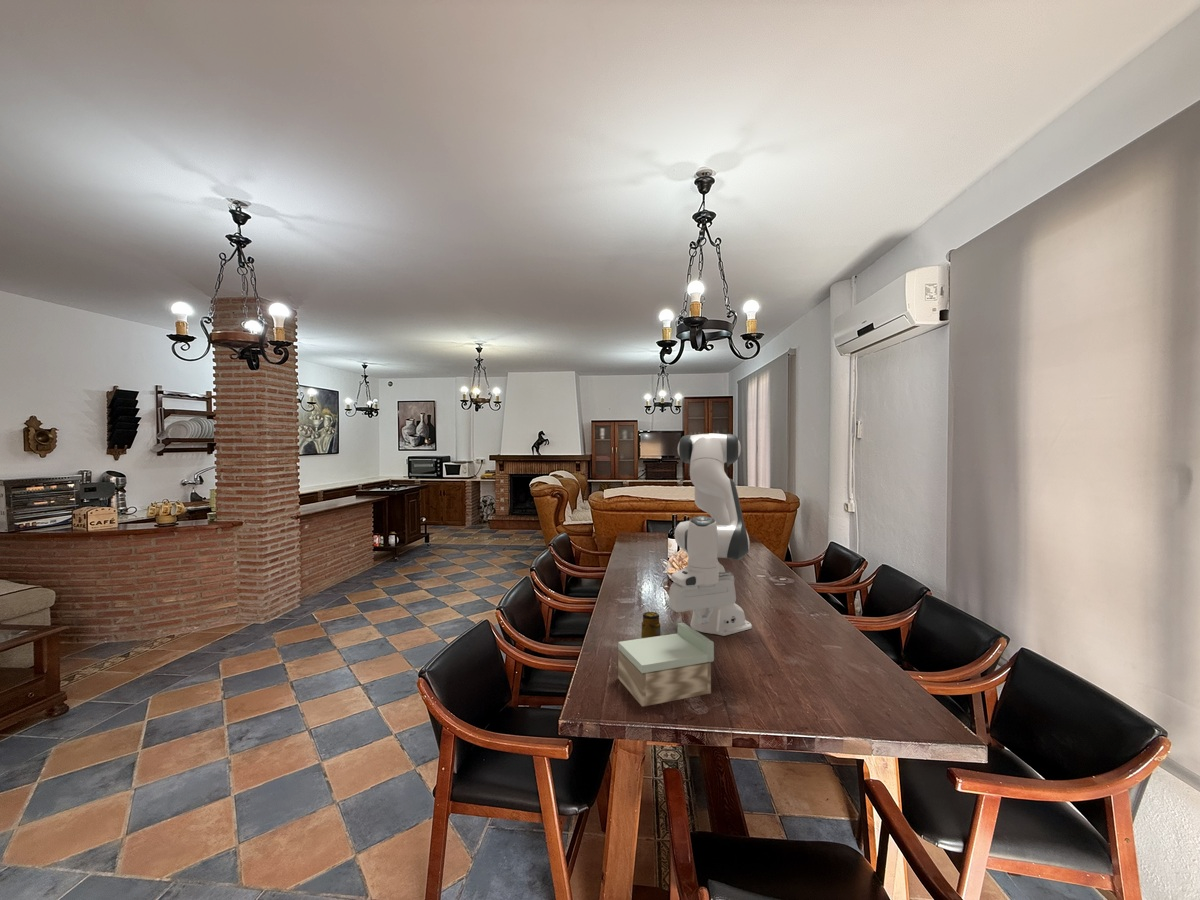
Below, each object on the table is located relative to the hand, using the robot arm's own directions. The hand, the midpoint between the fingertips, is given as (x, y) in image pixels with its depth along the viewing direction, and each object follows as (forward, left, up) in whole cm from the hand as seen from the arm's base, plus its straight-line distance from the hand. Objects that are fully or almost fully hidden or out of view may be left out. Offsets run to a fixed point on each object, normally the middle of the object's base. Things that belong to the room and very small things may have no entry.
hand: (703, 622), depth 133 cm
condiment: (+6, -21, -16) cm, 27 cm away
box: (+13, 0, -15) cm, 20 cm away
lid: (+13, 0, -7) cm, 14 cm away
